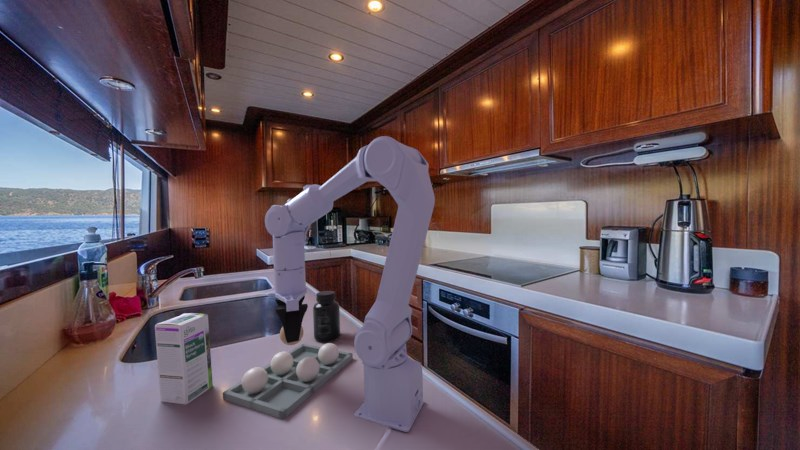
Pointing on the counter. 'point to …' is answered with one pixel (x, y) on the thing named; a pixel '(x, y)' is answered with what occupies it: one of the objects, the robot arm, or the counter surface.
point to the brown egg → (283, 339)
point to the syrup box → (183, 357)
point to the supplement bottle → (326, 317)
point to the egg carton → (288, 379)
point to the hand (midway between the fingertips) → (292, 336)
